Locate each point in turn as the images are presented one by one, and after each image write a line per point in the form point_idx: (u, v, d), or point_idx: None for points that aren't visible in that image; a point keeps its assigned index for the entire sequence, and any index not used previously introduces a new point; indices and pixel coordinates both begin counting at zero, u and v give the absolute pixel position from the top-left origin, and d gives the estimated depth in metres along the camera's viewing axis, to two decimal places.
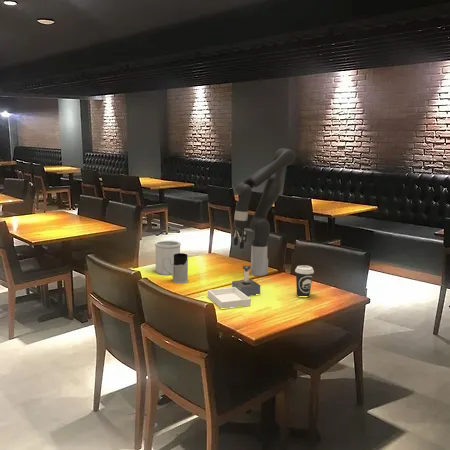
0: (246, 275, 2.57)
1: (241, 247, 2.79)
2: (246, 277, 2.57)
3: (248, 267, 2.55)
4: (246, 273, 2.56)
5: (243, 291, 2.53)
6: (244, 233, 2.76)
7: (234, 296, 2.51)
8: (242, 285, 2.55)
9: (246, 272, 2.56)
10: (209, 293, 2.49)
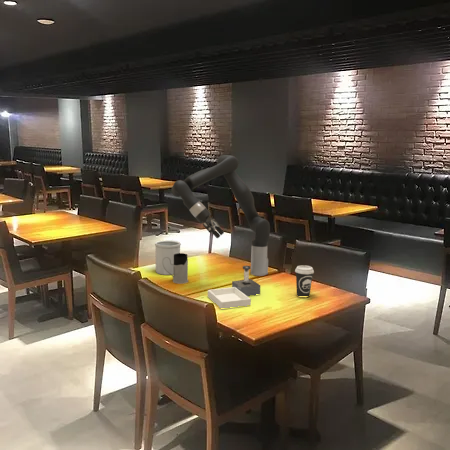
0: (246, 275, 2.57)
1: (216, 237, 2.53)
2: (246, 277, 2.57)
3: (248, 267, 2.55)
4: (246, 273, 2.56)
5: (243, 291, 2.53)
6: (205, 224, 2.52)
7: (234, 296, 2.51)
8: (242, 285, 2.55)
9: (246, 272, 2.56)
10: (209, 293, 2.49)
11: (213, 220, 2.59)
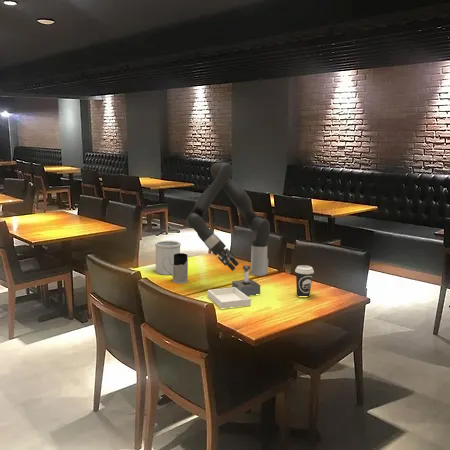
0: (246, 275, 2.57)
1: (231, 269, 2.53)
2: (246, 277, 2.57)
3: (248, 267, 2.55)
4: (246, 273, 2.56)
5: (243, 291, 2.53)
6: (220, 257, 2.52)
7: (234, 296, 2.51)
8: (242, 285, 2.55)
9: (246, 272, 2.56)
10: (209, 293, 2.49)
11: (228, 252, 2.59)
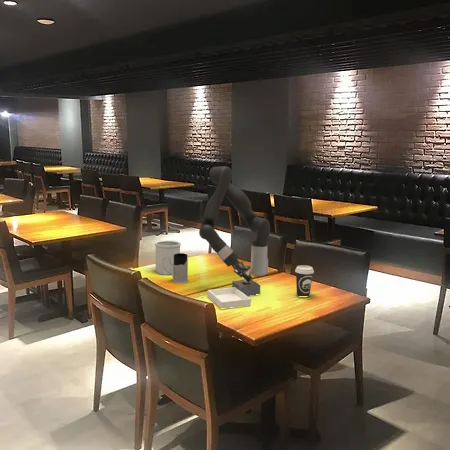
0: None
1: (247, 281, 2.56)
2: None
3: (248, 267, 2.55)
4: (246, 273, 2.56)
5: (243, 291, 2.53)
6: (236, 271, 2.52)
7: (234, 296, 2.51)
8: (242, 285, 2.55)
9: (246, 272, 2.56)
10: (209, 293, 2.49)
11: (241, 263, 2.58)
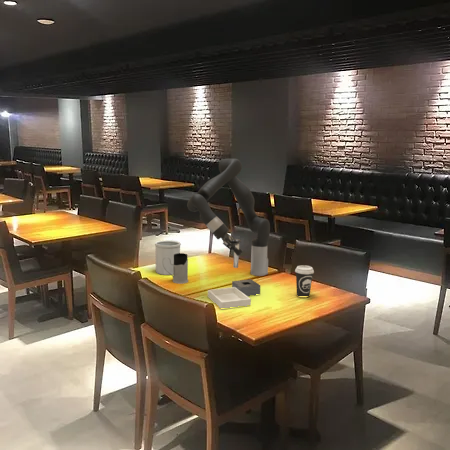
0: None
1: (237, 254, 2.45)
2: None
3: (238, 240, 2.45)
4: (236, 246, 2.46)
5: (243, 291, 2.53)
6: (226, 244, 2.41)
7: (234, 296, 2.51)
8: (242, 285, 2.55)
9: (236, 245, 2.46)
10: (209, 293, 2.49)
11: (231, 236, 2.48)
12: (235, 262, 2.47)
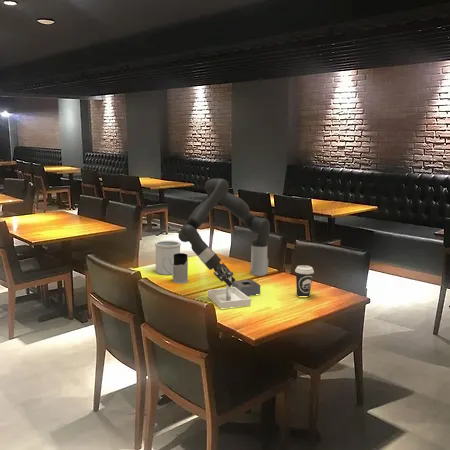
0: None
1: (228, 285, 2.40)
2: None
3: (230, 273, 2.42)
4: None
5: (243, 291, 2.53)
6: (216, 273, 2.38)
7: (234, 296, 2.51)
8: (242, 285, 2.55)
9: None
10: (209, 293, 2.49)
11: (223, 266, 2.45)
12: (228, 295, 2.45)
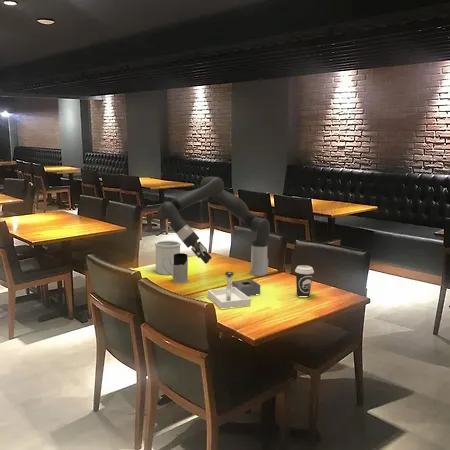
0: (229, 282, 2.43)
1: (205, 262, 2.41)
2: (229, 284, 2.43)
3: (231, 273, 2.42)
4: (229, 279, 2.43)
5: (243, 291, 2.53)
6: (193, 249, 2.39)
7: (234, 296, 2.51)
8: (242, 285, 2.55)
9: (229, 278, 2.43)
10: (209, 293, 2.49)
11: (201, 244, 2.47)
12: (228, 295, 2.45)
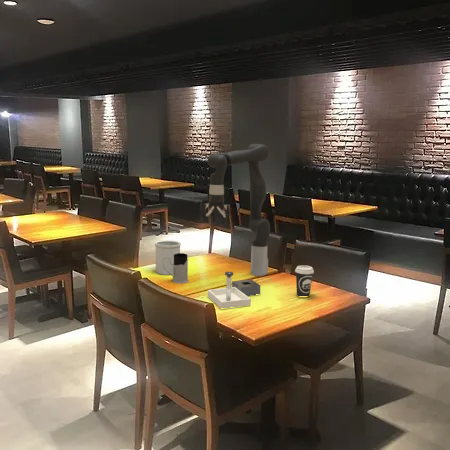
0: (228, 282, 2.43)
1: (225, 222, 2.61)
2: (228, 284, 2.43)
3: (230, 273, 2.42)
4: (228, 279, 2.43)
5: (243, 291, 2.53)
6: (229, 207, 2.60)
7: (234, 296, 2.51)
8: (242, 285, 2.55)
9: (228, 278, 2.43)
10: (209, 293, 2.49)
11: None
12: (228, 295, 2.45)
